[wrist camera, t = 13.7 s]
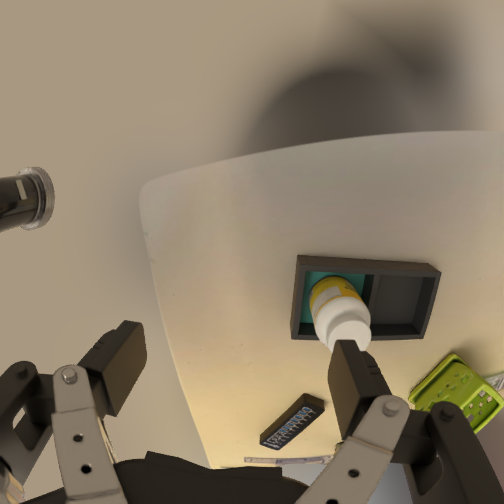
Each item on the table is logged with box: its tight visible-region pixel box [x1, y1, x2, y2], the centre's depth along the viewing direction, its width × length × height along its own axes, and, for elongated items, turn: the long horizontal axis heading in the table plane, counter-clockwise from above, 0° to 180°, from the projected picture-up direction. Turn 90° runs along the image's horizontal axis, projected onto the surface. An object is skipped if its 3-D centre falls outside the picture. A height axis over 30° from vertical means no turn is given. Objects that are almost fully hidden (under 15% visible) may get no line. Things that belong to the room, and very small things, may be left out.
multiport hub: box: [260, 394, 325, 450], centre depth 45 cm, size 4×14×2 cm, turn 149°
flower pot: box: [408, 354, 504, 434], centre depth 37 cm, size 14×14×13 cm
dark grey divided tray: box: [290, 255, 441, 341], centre depth 37 cm, size 20×10×4 cm, turn 87°
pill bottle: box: [309, 275, 371, 353], centre depth 33 cm, size 6×6×12 cm
